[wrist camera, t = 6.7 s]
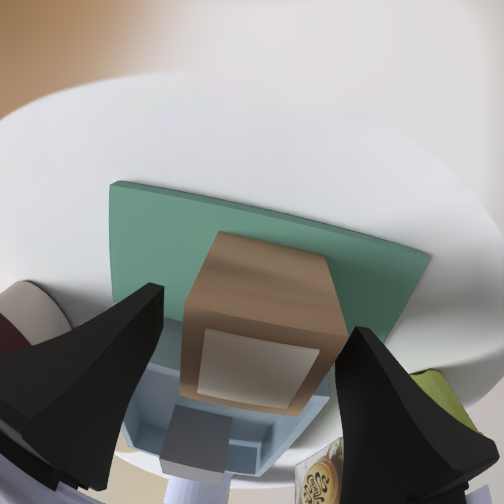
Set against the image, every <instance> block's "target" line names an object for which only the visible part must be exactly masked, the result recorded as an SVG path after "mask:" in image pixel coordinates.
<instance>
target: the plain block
mask: <svg viewBox="0 0 504 504" xmlns="http://www.w3.org/2000/svg"><path fill="white" fill-rule="evenodd" d="M232 418H233V417H228V416H222V415H218V414H213V413H208V412H204V411H199V410H195V409H191V408H187V407H183V406H180V405H176V404H175V407H174V410H173V413H172V417H171V420H170V423H169V427H168V430H167V433H166V437H165V440H164V443H163V447H162V450H161V454H160V457H159V460H160V464H161V468H162V472H163V473H164V474H168V475H172V476H175V477H179V478H183V479H188V480H192V481H196V482H201V483H206V484H212V485H218V484H219V482H220V480H221V478H222V477H223V475H224V472H225V466H226V459H227V452H228V445H229V439H230V432H231V425H232Z"/></svg>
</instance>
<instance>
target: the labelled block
mask: <svg viewBox="0 0 504 504" xmlns="http://www.w3.org/2000/svg"><path fill="white" fill-rule="evenodd" d="M348 337H349V335H348V331H347V328H346V324H345V321H344V317H343V314H342V310H341V307H340V304H339V300H338V297H337V294H336V291H335V287H334V284H333V281H332V278H331V275H330V272H329V269H328V266H327V262H326V259H325V256H324V254H320V253H316V252H311V251H307V250H303V249H298V248H294V247H289V246H285V245H281V244H276V243H272V242H267V241H263V240H258V239H254V238H249V237H245V236H240V235H236V234H231V233H227V232H222V231H218V233H217V235H216V237H215V240H214V242H213V244H212V246H211V248H210V250H209V252H208V254H207V256H206V258H205V260H204V263H203V265H202V267H201V269H200V271H199V273H198V275H197V278H196V280H195V282H194V284H193V286H192V288H191V291H190V293H189V295H188V297H187V299H186V302H185V304H184V314H183V328H182V344H181V365H180V396H184V397H187V398H191V399H195V400H200V401H204V402H208V403H213V404H217V405H222V406H227V407H233V408H238V409H244V410H250V411H256V412H263V413H270V414H278V415H287V416H297V417H298V416H299V414H300V413H301V411H302V410H303V409H304V407H305V406H306V404H307V403H308V401H309V400H310V398H311V397H312V396H313V394H314V393H315V391H316V390H317V388H318V387H319V385H320V383H321V382H322V380H323V379H324V377H325V376H326V374H327V373H328V371H329V369H330V368H331V366H332V365H333V363H334V361H335V360H336V358H337V356H338V355H339V353H340V351H341V350H342V348H343V346H344V344H345V343H346V341H347V339H348Z"/></svg>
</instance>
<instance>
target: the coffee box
mask: <svg viewBox="0 0 504 504" xmlns="http://www.w3.org/2000/svg"><path fill="white" fill-rule="evenodd" d="M343 447H344V444H343V438H339V439H337V440H336V441H334V442H333V443H331V444H330V445H328V446H327V447H325V448H324V449H322V450H321V451H319V452H318V453H316V454H315V455H313V456H311V457H310V458H308V459H307V460H305V461H303V462H302V463H300V464H298V465H296V466H295V504H339V500H340V493H341V485H342V475H343Z"/></svg>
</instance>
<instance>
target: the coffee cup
mask: <svg viewBox="0 0 504 504" xmlns="http://www.w3.org/2000/svg"><path fill="white" fill-rule="evenodd" d="M70 330H72V328H71V326H70V324H69V322H68V320H67V318H66V317H65V315H64V314H63V312H62V310H61V309H60V308H59V307H58V305H57V304H56V303H55V302H54V301H53V300H52V299H51V298H50V297H49V296H48V295H47V294H46V293H45V292H44V291H43V290H41V289H40V288H39V287H37V286H35V285H34V284H32V283H29V282H26V281H18V282H16V283H14V284H13V285H11V286H10V287H9V288H7V289H6V290H5V291H3V292H2V293H1V294H0V354H1V353H6V352H11V351H15V350H19V349H23V348H26V347H29V346H33V345H36V344H39V343H41V342H44V341H47V340H49V339H52V338H54V337H57V336H60V335H62V334H64V333H66V332H68V331H70Z"/></svg>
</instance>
